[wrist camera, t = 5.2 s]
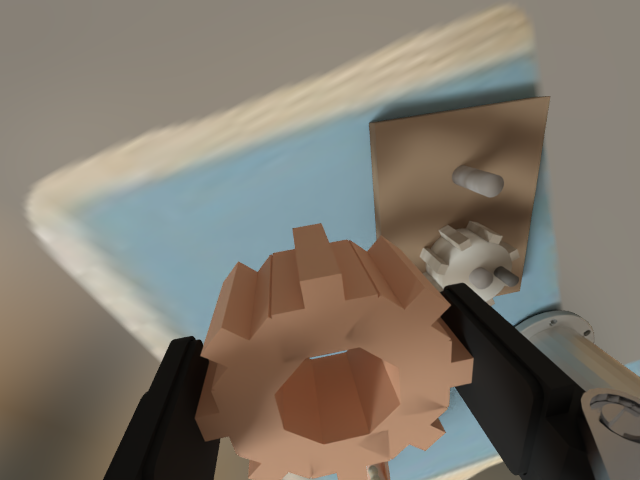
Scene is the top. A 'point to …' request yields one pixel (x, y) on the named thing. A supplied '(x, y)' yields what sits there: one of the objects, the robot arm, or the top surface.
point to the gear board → (461, 191)
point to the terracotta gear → (328, 360)
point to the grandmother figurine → (378, 471)
